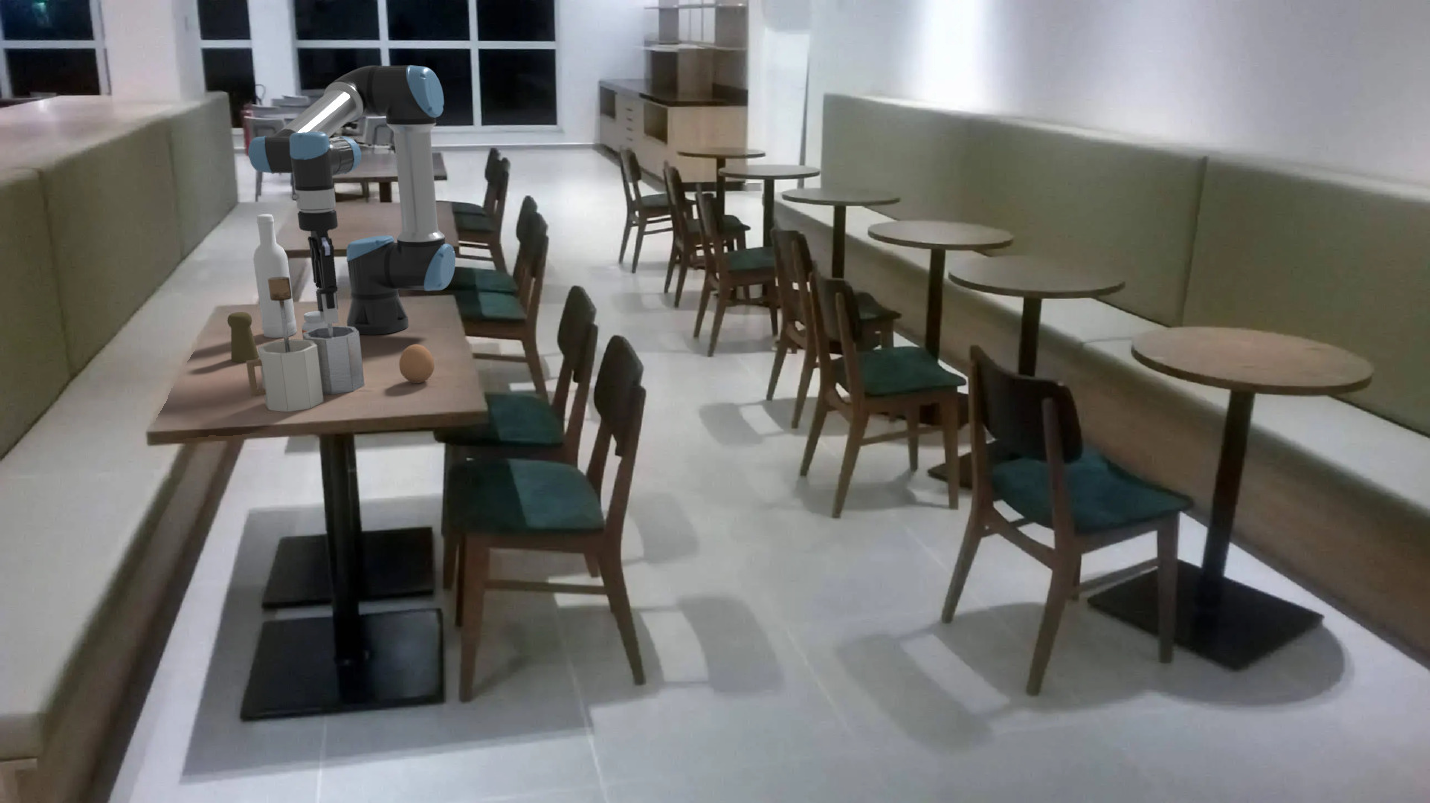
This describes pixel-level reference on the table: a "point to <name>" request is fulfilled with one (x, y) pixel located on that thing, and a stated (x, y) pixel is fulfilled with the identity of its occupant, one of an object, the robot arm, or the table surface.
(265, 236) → the bottle
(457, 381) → the table surface
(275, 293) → the plunger
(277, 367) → the white faceted mug
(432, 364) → the egg
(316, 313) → the pill bottle
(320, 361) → the grey octagonal container
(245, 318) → the cork
